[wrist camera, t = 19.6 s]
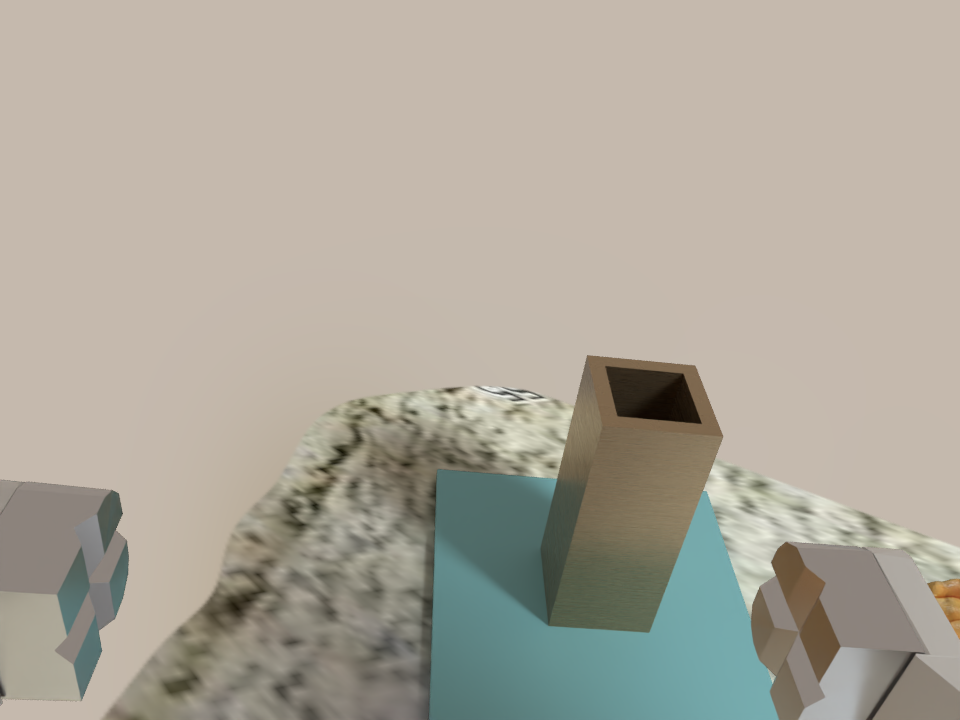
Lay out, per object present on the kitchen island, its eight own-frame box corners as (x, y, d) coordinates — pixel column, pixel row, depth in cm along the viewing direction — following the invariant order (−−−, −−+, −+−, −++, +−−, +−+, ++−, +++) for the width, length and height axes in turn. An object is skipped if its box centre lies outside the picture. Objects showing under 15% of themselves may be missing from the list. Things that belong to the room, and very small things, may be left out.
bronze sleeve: (632, 555, 51) (695, 365, 43) (649, 632, 47) (723, 436, 39) (540, 548, 51) (587, 355, 43) (548, 626, 46) (602, 426, 38)
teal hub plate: (704, 497, 57) (724, 443, 55) (789, 752, 42) (823, 694, 40) (436, 475, 56) (444, 418, 53) (428, 732, 41) (438, 671, 38)
